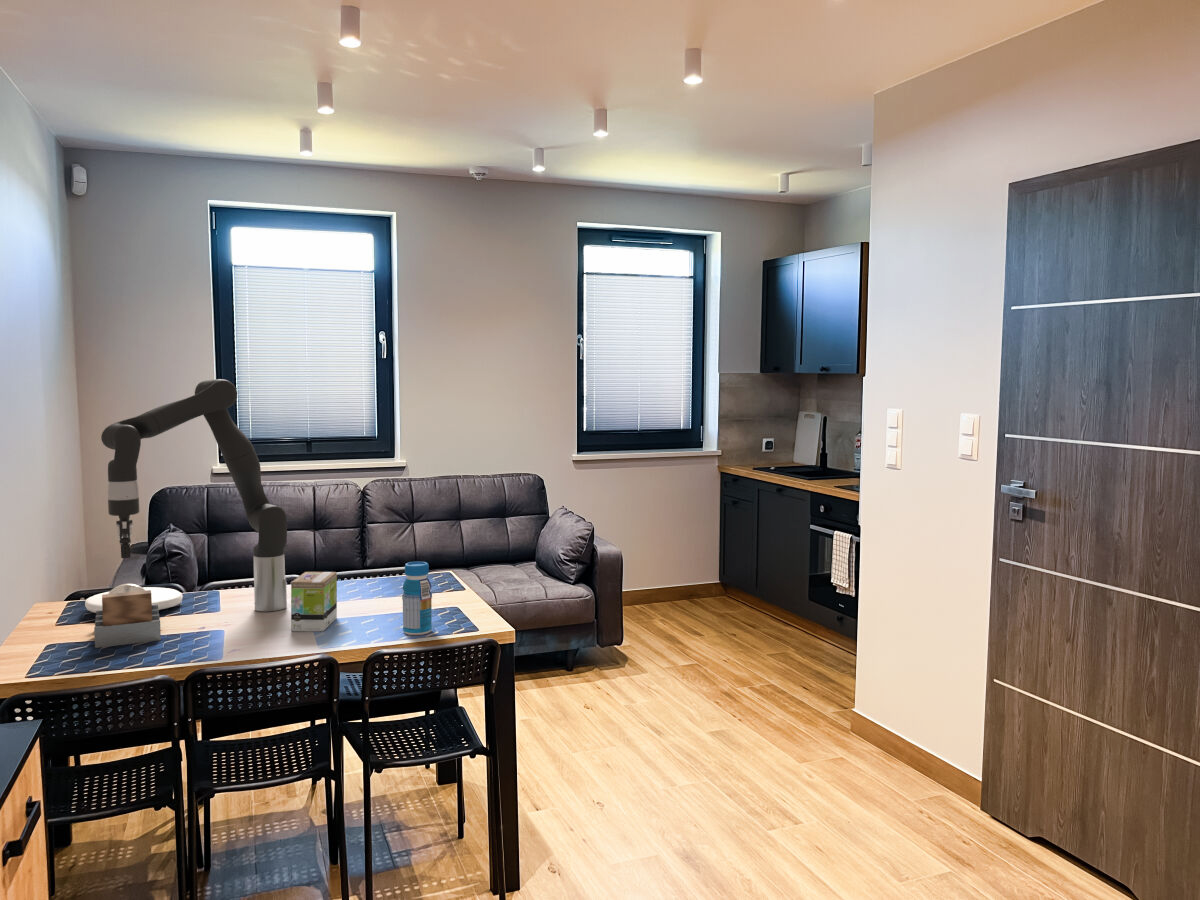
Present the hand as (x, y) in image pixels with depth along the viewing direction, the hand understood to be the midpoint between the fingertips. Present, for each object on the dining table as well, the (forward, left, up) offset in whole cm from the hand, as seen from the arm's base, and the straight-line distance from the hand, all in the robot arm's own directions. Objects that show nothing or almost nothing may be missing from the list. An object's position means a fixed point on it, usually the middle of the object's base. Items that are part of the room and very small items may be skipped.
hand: (125, 555), depth 247 cm
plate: (-2, -37, -25) cm, 45 cm away
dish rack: (0, -6, -24) cm, 25 cm away
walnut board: (0, 0, -23) cm, 23 cm away
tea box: (-49, +7, -24) cm, 55 cm away
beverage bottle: (-74, +28, -24) cm, 83 cm away
